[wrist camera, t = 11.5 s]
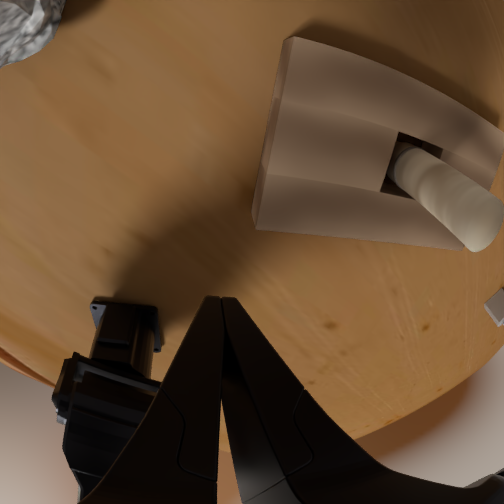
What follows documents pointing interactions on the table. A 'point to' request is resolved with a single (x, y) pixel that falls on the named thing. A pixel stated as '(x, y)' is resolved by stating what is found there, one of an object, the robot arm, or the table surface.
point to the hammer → (27, 27)
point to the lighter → (496, 307)
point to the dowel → (447, 195)
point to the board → (359, 148)
